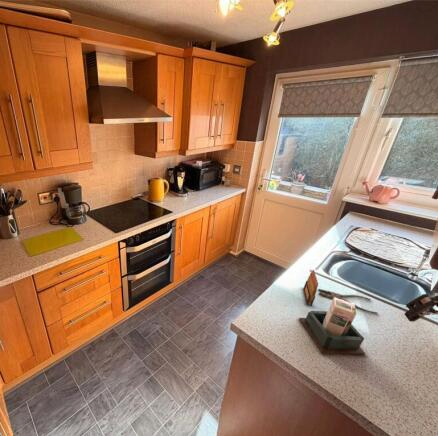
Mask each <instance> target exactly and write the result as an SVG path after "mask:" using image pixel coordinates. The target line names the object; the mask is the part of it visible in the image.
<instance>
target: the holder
mask: <svg viewBox="0 0 438 436" xmlns="http://www.w3.org/2000/svg"><path fill="white" fill-rule="evenodd" d="M327 312H328V310H310V311H308V312H307V314H306V317H299V319H298V321H299V322H300V324H301V325H302V327H303V328H304V330H305V332H306V333H307V334H308V336H309V338H310V339H311V340H312V342H313V343H314V345H315V346H316V348H317V349H318V350H319V352H320V354H323V355H344V356H345V355H346V356H347V355H348V356H349V355H350V356H365V355H366V352H365V351H364V350H363V348H361V345H362V343H363V342H364V340H365V338H364V337H363V335H362V334H361V333H360V332H359V331H358V329H356V327H355V326H353V324H352V323H351V325H350V327H349V329H348V331H347V333H346V335H345V336H330V335H329V334H328V333H327V331H326V330H325V329H324V327H323V326H322V323H323V321H324V319H325V316H326V314H327Z"/></svg>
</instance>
